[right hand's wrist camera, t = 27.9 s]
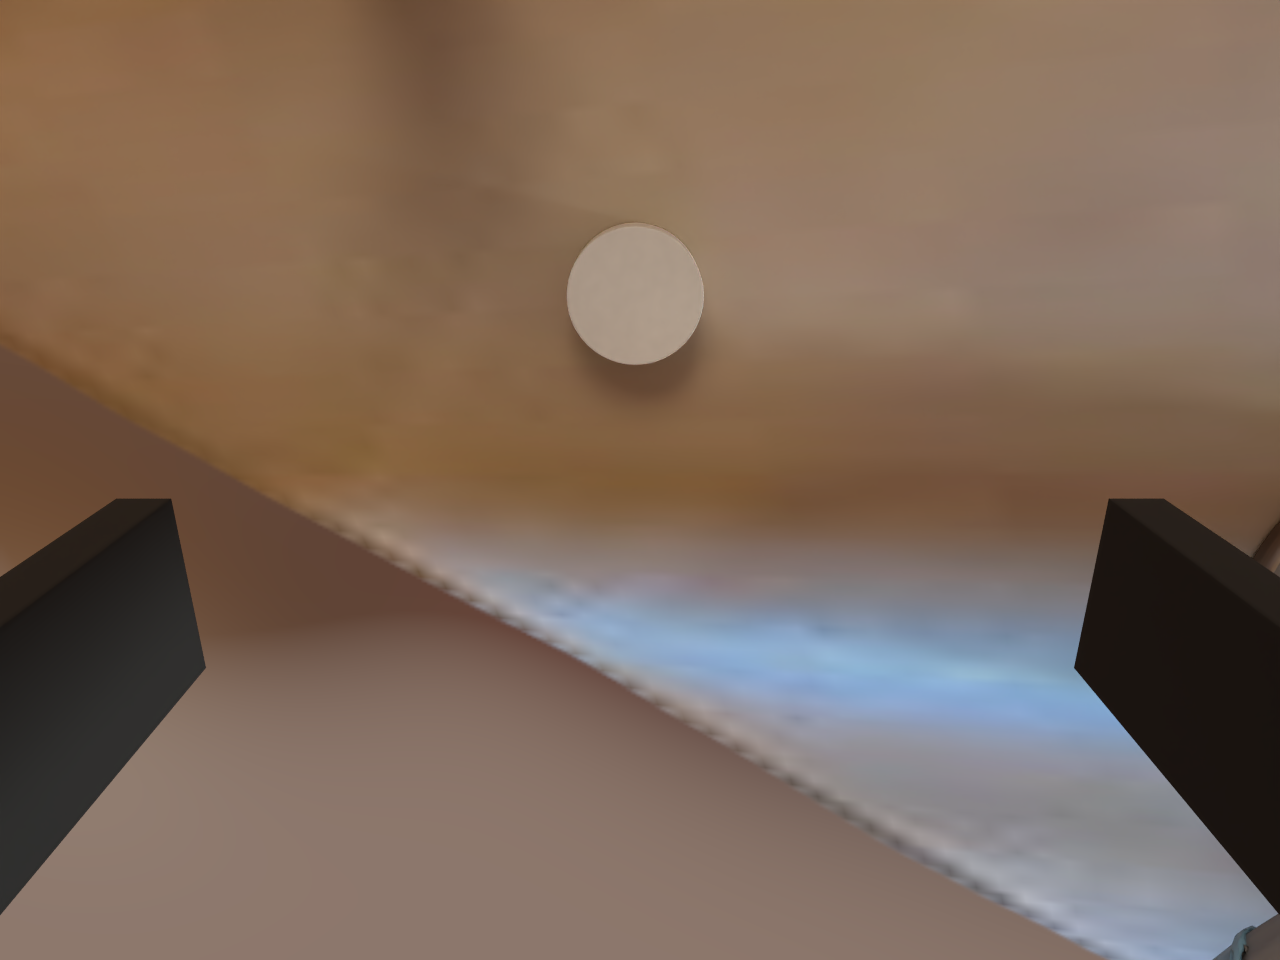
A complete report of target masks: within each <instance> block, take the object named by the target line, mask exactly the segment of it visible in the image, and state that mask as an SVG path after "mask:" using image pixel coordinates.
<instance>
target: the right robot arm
mask: <svg viewBox="0 0 1280 960" xmlns="http://www.w3.org/2000/svg"><path fill="white" fill-rule="evenodd" d="M205 668H206V666H205V661H204V656H203V652H202V647H201V642H200V637H199V632H198V627H197V622H196V618H195V613H194V608H193V603H192V598H191V593H190V588H189V584H188V579H187V574H186V569H185V564H184V559H183V554H182V549H181V545H180V540H179V535H178V530H177V525H176V520H175V515H174V510H173V506H172V501H171V499H115V500H114V501H112V502H111V503H109V504H108V505H106V506H105V507H103V508H102V509H100V510H99V511H98V512H96V513H95V514H93V515H92V516H90V517H89V518H87V519H86V520H84V521H83V522H81V523H80V524H78V525H77V526H75V527H74V528H72V529H71V530H69V531H68V532H66V533H65V534H63V535H62V536H60V537H59V538H57V539H56V540H55V541H53V542H51V543H50V544H49V545H47V546H46V547H44V548H43V549H41V550H40V551H38V552H37V553H35V554H34V555H32V556H31V557H29V558H28V559H26V560H25V561H23V562H22V563H20V564H19V565H17V566H16V567H14V568H13V569H11V570H10V571H8V572H7V573H6V574H4V575H3V576H1V577H0V915H1V913H2V912H3V911H4V910H5V909H6V907H7V906H8V905H9V904H10V903H11V901H12V900H13V899H14V898H15V897H16V895H17V894H18V893H19V892H20V891H21V889H22V888H23V887H24V886H25V885H26V883H27V882H28V881H29V880H30V879H31V877H32V876H33V875H34V874H35V873H36V871H37V870H38V869H39V868H40V867H41V865H42V864H43V863H44V862H45V861H46V859H47V858H48V857H49V856H50V855H51V853H52V852H53V851H54V850H55V849H56V847H57V846H58V845H59V844H60V843H61V841H62V840H63V839H64V838H65V837H66V835H67V834H68V833H69V832H70V831H71V829H72V828H73V827H74V826H75V825H76V823H77V822H78V821H79V820H80V818H81V817H82V816H83V815H84V814H85V812H86V811H87V810H88V809H89V808H90V806H91V805H92V804H93V803H94V802H95V800H96V799H97V798H98V797H99V796H100V794H101V793H102V792H103V791H104V790H105V788H106V787H107V786H108V785H109V784H110V782H111V781H112V780H113V779H114V778H115V776H116V775H117V774H118V773H119V772H120V770H121V769H122V768H123V767H124V766H125V764H126V763H127V762H128V761H129V760H130V758H131V757H132V756H133V755H134V754H135V752H136V751H137V750H138V749H139V747H140V746H141V745H142V744H143V743H144V742H145V740H146V739H147V738H148V737H149V736H150V734H151V733H152V732H153V731H154V730H155V728H156V727H157V726H158V725H159V724H160V722H161V721H162V720H163V719H164V718H165V716H166V715H167V714H168V713H169V712H170V710H171V709H172V708H173V707H174V705H175V704H176V703H177V702H178V701H179V699H180V698H181V697H182V696H183V695H184V693H185V692H186V691H187V690H188V689H189V687H190V686H191V685H192V684H193V683H194V681H195V680H196V679H197V678H198V677H199V675H200V674H201V673H202V672H203V671H204V669H205ZM1074 668H1075V669H1076V671H1077V672H1078V673H1079V674H1080V675H1081V677H1082V678H1083V679H1084V680H1085V681H1086V683H1087V684H1088V685H1089V686H1090V687H1091V689H1092V690H1093V691H1094V692H1095V693H1096V695H1097V696H1098V697H1099V698H1100V699H1101V701H1102V702H1103V703H1104V704H1105V705H1106V707H1107V708H1108V709H1109V710H1110V712H1111V713H1112V714H1113V715H1114V716H1115V718H1116V719H1117V720H1118V721H1119V722H1120V724H1121V725H1122V726H1123V727H1124V728H1125V730H1126V731H1127V732H1128V733H1129V734H1130V736H1131V737H1132V738H1133V739H1134V740H1135V742H1136V743H1137V744H1138V745H1139V746H1140V748H1141V749H1142V750H1143V751H1144V752H1145V754H1146V755H1147V756H1148V757H1149V758H1150V760H1151V761H1152V762H1153V763H1154V764H1155V766H1156V767H1157V768H1158V769H1159V770H1160V772H1161V773H1162V774H1163V775H1164V776H1165V778H1166V779H1167V780H1168V781H1169V782H1170V784H1171V785H1172V786H1173V787H1174V788H1175V790H1176V791H1177V792H1178V793H1179V794H1180V796H1181V797H1182V798H1183V799H1184V800H1185V802H1186V803H1187V804H1188V805H1189V806H1190V808H1191V809H1192V810H1193V811H1194V812H1195V814H1196V815H1197V816H1198V817H1199V819H1200V820H1201V821H1202V822H1203V823H1204V825H1205V826H1206V827H1207V828H1208V829H1209V831H1210V832H1211V833H1212V834H1213V835H1214V837H1215V838H1216V839H1217V840H1218V841H1219V843H1220V844H1221V845H1222V846H1223V847H1224V849H1225V850H1226V851H1227V852H1228V853H1229V855H1230V856H1231V857H1232V858H1233V859H1234V861H1235V862H1236V863H1237V864H1238V865H1239V867H1240V868H1241V869H1242V870H1243V871H1244V873H1245V874H1246V875H1247V876H1248V877H1249V879H1250V880H1251V881H1252V882H1253V883H1254V885H1255V886H1256V887H1257V888H1258V889H1259V891H1260V892H1261V893H1262V894H1263V895H1264V897H1265V898H1266V899H1267V900H1268V901H1269V903H1270V904H1271V905H1272V906H1273V907H1274V909H1275V910H1276V911H1277V912H1278V913H1279V914H1277V915H1276V916H1274V917H1273V918H1271V919H1269V920H1268V921H1266V922H1265V923H1263V924H1261V925H1260V926H1258V927H1257V928H1256V927H1254V926H1250V927H1248V928H1245V929H1243V930H1242V931H1240V932H1239V933H1238V934H1237V935H1236V936H1235V938H1234V941H1233V943H1232V945H1231V946H1229V947H1228V948H1227V949H1226V950H1224V951H1223V952H1222V953H1221V954H1219V955H1218V956H1217V957H1215V958H1214V959H1213V960H1280V522H1279V523H1278V524H1277V525H1276V526H1275V528H1274V529H1273V530H1272V531H1271V533H1270V534H1269V535H1268V537H1267V538H1266V539H1265V541H1264V542H1263V544H1262V545H1261V547H1260V548H1259V550H1258V552H1257V553H1256V555H1255V556H1254V558H1253V559H1252V558H1251V557H1249V556H1248V555H1246V554H1245V553H1243V552H1242V551H1240V550H1239V549H1237V548H1236V547H1234V546H1233V545H1231V544H1230V543H1229V542H1227V541H1226V540H1224V539H1223V538H1221V537H1220V536H1218V535H1217V534H1215V533H1214V532H1212V531H1211V530H1209V529H1208V528H1206V527H1205V526H1203V525H1202V524H1200V523H1199V522H1197V521H1196V520H1194V519H1193V518H1191V517H1190V516H1188V515H1187V514H1185V513H1184V512H1183V511H1181V510H1180V509H1178V508H1177V507H1175V506H1174V505H1172V504H1171V503H1169V502H1168V501H1166V500H1165V499H1109V501H1108V506H1107V510H1106V515H1105V520H1104V525H1103V530H1102V535H1101V540H1100V545H1099V549H1098V554H1097V559H1096V564H1095V569H1094V574H1093V579H1092V583H1091V588H1090V593H1089V598H1088V603H1087V608H1086V613H1085V617H1084V622H1083V627H1082V632H1081V637H1080V642H1079V647H1078V652H1077V656H1076V661H1075V666H1074Z"/></svg>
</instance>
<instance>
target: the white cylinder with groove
mask: <svg viewBox="0 0 1280 960" xmlns="http://www.w3.org/2000/svg"><path fill="white" fill-rule="evenodd" d="M566 298H567V307H568V312H569V316H570V318H571V321H572V324H573V326H574V328H575V330H576V332H577V333H578V334H579V336H580V337H581V339H582V340H583V341H584V342H585V343H586V344H587V345H588V346H589V347H590V348H591V349H592V350H593V351H595V352H596V353H598V354H599V355H601V356H603V357H605V358H607V359H609V360H611V361H614V362H617V363H622V364H629V365H642V364H648V363H653V362H656V361H659V360H662V359H664V358H666V357H668V356H670V355H671V354H673V353H674V352H676V351H677V350H678V349H679V348H681V347H682V346H683V345H684V344H685V343H686V342H687V340H688V339H689V338H690V337H691V335H692V334H693V332H694V331H695V329H696V327H697V325H698V322H699V320H700V317H701V314H702V309H703V302H704V288H703V282H702V278H701V275H700V271H699V269H698V267H697V265H696V262H695V260H694V258H693V256H692V255H691V253H690V252H689V250H688V249H687V248H686V246H685V245H684V244H683V243H682V242H681V241H680V240H679V239H678V238H677V237H676V236H674V235H673V234H671V233H670V232H668V231H666V230H664V229H662V228H660V227H657V226H655V225H651V224H646V223H636V222H635V223H624V224H620V225H616V226H613V227H610V228H608V229H606V230H604V231H602V232H601V233H599V234H598V235H596V236H595V237H594V238H593V239H592V240H591V241H589V242H588V243H587V245H586V246H585V247H584V248H583V250H582V251H581V253H580V254H579V256H578V258H577V259H576V261H575V263H574V265H573V267H572V270H571V272H570V276H569V279H568V284H567V297H566Z"/></svg>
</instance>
